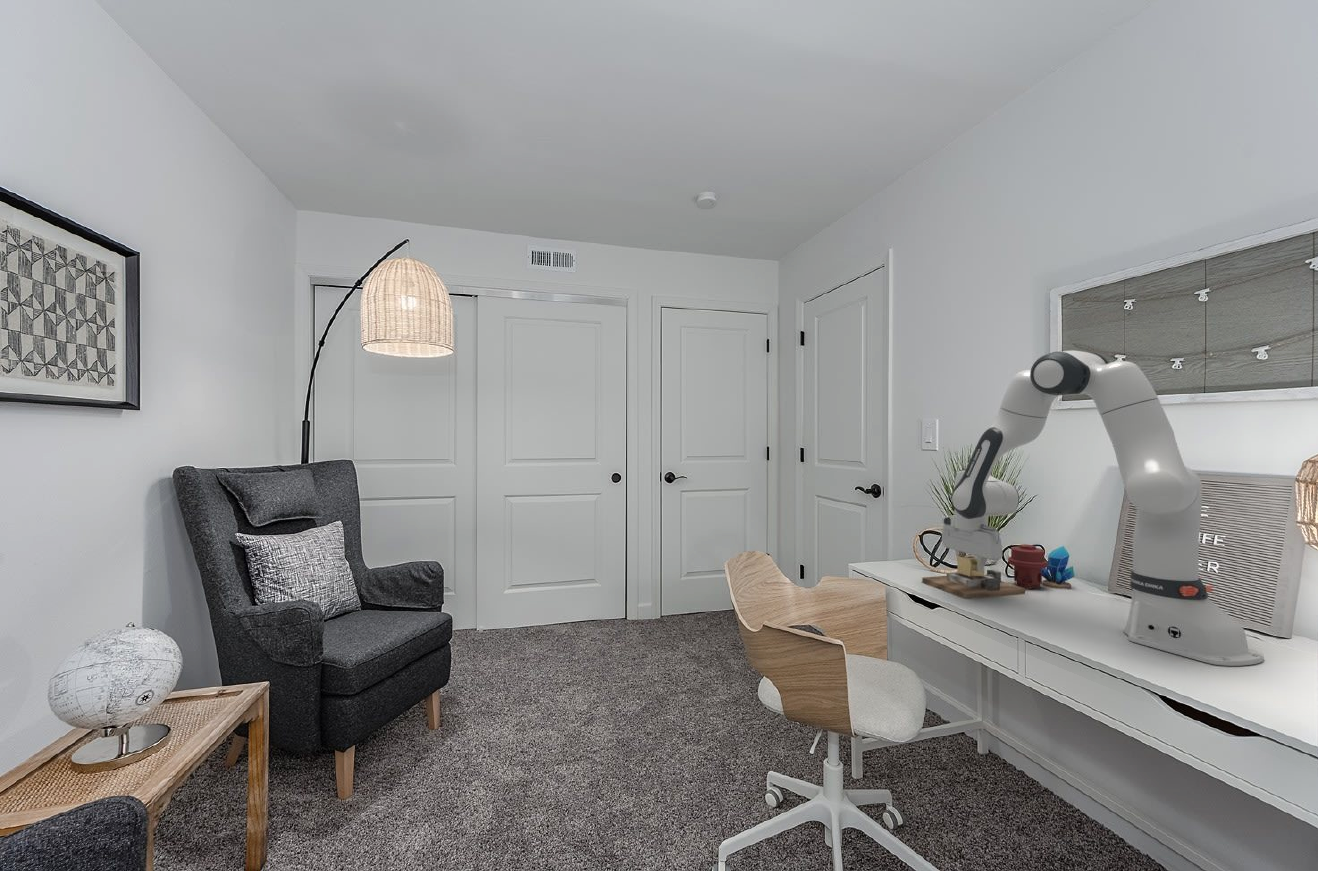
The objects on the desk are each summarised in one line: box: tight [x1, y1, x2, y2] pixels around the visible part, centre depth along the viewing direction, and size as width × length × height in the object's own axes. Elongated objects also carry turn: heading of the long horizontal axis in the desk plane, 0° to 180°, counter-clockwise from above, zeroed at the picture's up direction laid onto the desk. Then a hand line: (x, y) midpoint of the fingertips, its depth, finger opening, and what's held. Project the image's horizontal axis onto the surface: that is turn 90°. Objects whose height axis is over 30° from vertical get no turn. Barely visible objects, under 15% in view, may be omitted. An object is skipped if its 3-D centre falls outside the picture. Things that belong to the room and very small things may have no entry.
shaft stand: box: [921, 569, 1026, 599], centre depth 171 cm, size 18×20×4 cm
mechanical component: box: [1007, 543, 1048, 590], centre depth 171 cm, size 12×10×10 cm
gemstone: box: [1041, 545, 1075, 589], centre depth 172 cm, size 7×9×12 cm
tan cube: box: [957, 554, 985, 577], centre depth 171 cm, size 5×5×5 cm
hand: (970, 568), depth 171 cm, fingers closed on tan cube, 5 cm apart
